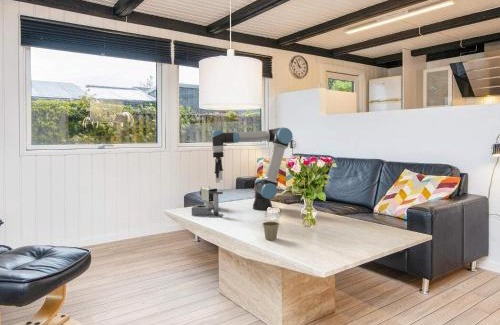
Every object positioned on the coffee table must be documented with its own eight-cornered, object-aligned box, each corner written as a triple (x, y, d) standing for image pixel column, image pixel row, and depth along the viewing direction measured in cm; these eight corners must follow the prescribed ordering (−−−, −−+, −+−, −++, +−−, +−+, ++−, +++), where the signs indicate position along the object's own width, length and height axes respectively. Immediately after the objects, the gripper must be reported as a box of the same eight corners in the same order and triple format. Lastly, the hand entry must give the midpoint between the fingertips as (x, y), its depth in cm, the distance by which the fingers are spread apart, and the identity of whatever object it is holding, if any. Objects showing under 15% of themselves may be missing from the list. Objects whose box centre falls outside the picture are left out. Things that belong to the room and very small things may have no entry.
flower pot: (282, 238, 203) (282, 223, 203) (272, 242, 196) (272, 226, 196) (269, 235, 210) (269, 220, 209) (259, 239, 203) (258, 223, 202)
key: (209, 214, 264) (209, 191, 262) (223, 214, 263) (223, 191, 262) (208, 215, 260) (208, 192, 259) (222, 215, 259) (222, 192, 258)
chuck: (211, 212, 275) (211, 204, 274) (208, 215, 263) (207, 208, 262) (195, 211, 276) (195, 204, 275) (191, 215, 264) (191, 208, 263)
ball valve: (220, 209, 285) (220, 186, 284) (211, 210, 280) (210, 187, 279) (208, 205, 299) (208, 184, 298) (199, 206, 294) (199, 185, 293)
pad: (223, 214, 266) (223, 213, 266) (221, 217, 257) (221, 216, 257) (211, 214, 266) (211, 213, 266) (208, 217, 257) (208, 216, 257)
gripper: (215, 150, 273) (216, 178, 275) (209, 152, 248) (211, 183, 250) (225, 150, 273) (226, 178, 275) (220, 152, 248) (222, 183, 250)
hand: (219, 181), depth 262 cm, fingers open, 13 cm apart
